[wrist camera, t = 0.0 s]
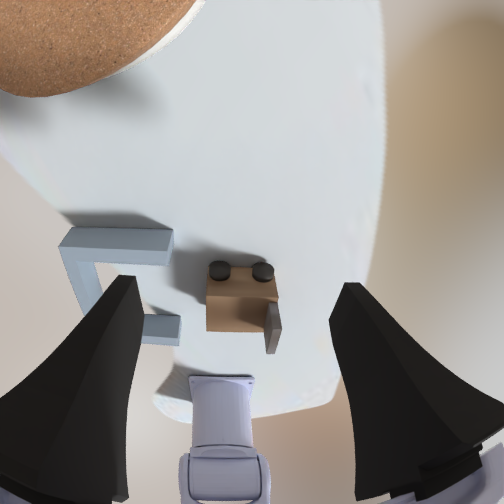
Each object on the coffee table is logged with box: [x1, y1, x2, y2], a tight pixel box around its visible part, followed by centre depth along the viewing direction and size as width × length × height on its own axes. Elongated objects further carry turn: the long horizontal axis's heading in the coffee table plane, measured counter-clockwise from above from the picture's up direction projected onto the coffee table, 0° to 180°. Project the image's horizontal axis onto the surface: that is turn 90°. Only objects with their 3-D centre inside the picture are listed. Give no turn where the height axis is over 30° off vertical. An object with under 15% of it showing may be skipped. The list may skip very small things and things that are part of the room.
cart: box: [206, 261, 282, 354], centre depth 21 cm, size 5×5×6 cm
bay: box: [58, 227, 181, 346], centre depth 21 cm, size 10×8×2 cm
